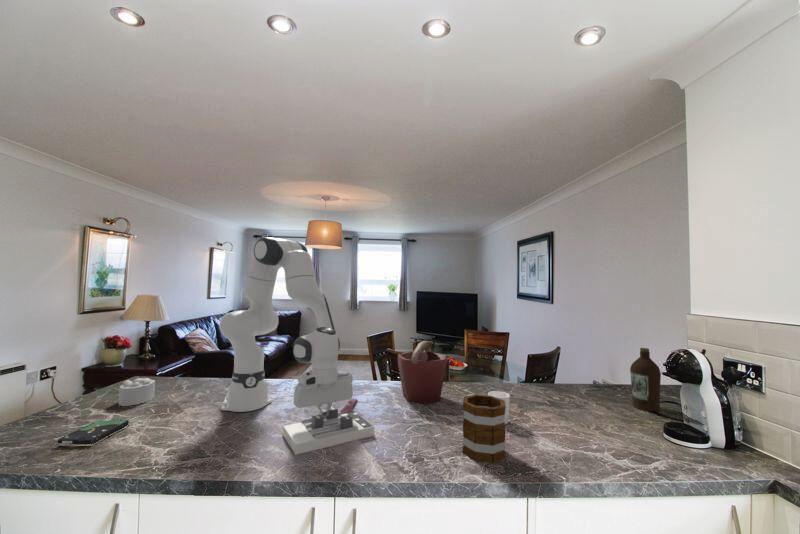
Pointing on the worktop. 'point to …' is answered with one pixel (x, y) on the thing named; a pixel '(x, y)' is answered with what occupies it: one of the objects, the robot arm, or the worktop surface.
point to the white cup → (504, 397)
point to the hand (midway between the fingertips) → (323, 416)
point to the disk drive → (94, 432)
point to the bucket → (422, 374)
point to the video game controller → (349, 406)
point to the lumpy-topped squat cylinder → (136, 391)
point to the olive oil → (645, 382)
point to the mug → (484, 428)
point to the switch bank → (325, 433)
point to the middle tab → (317, 421)
